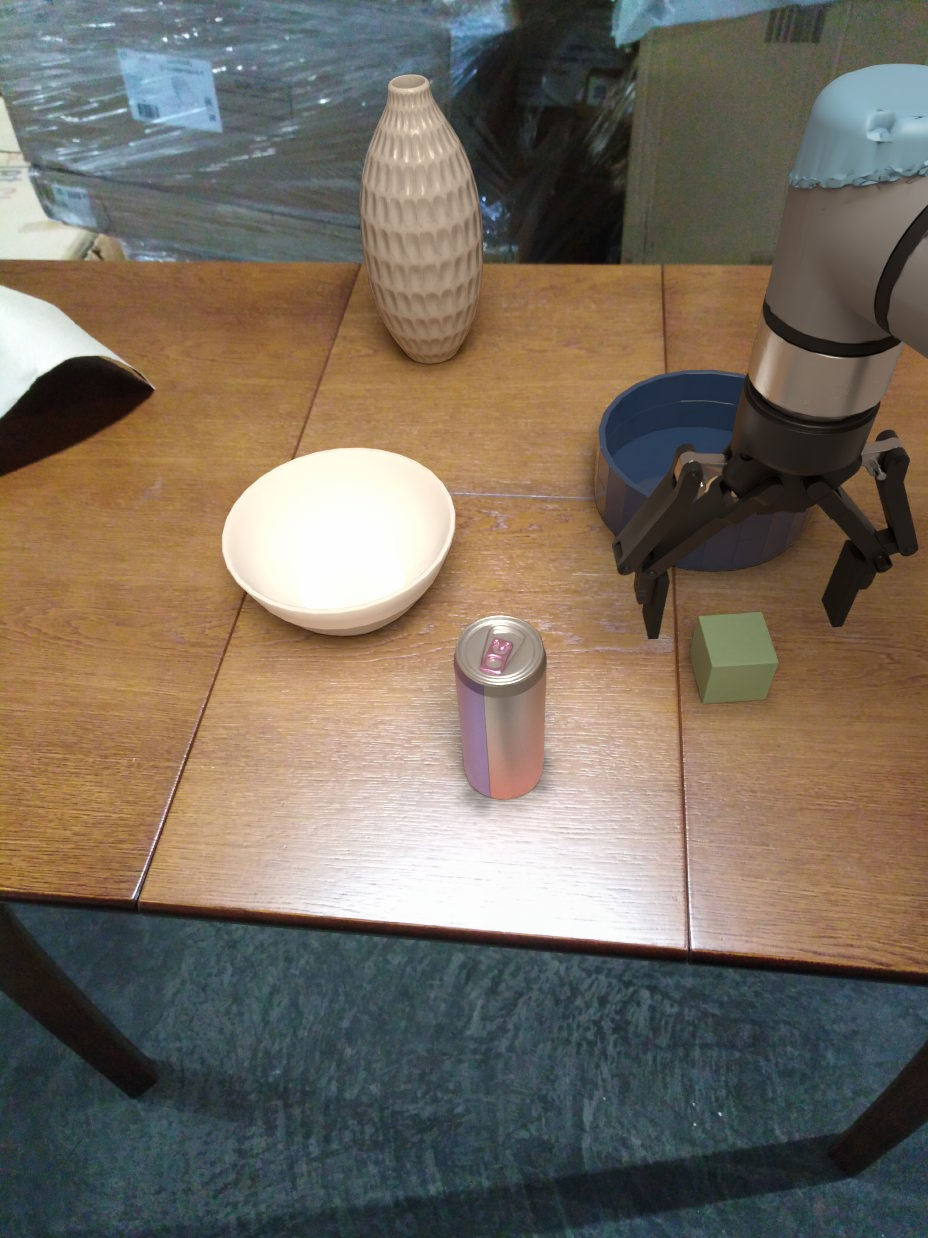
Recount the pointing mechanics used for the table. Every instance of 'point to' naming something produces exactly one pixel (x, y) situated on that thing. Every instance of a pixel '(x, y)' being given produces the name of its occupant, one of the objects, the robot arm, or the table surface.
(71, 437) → the table surface
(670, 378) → the navy round tub
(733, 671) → the sage block
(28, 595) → the table surface
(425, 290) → the vase
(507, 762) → the beverage can
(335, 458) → the bowl
